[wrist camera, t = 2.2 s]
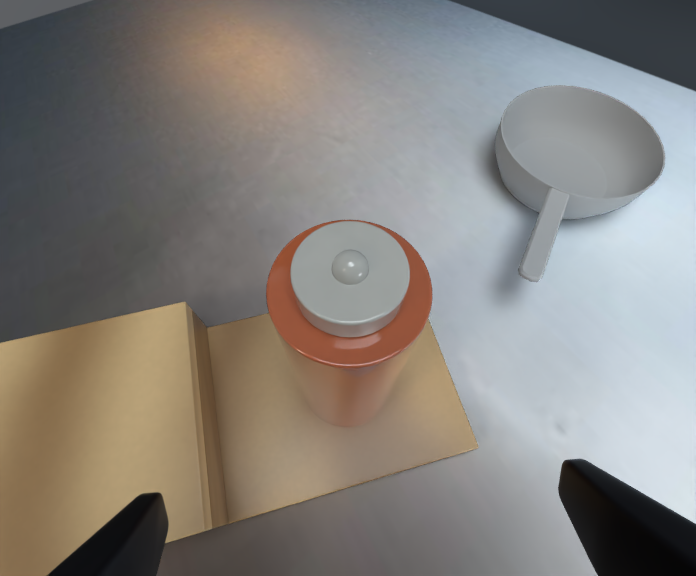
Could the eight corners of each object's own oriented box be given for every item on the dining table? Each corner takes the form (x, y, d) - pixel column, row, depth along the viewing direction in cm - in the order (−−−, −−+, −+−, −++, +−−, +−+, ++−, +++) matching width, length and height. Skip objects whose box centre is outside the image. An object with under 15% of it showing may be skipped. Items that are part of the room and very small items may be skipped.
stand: (410, 286, 25) (423, 247, 21) (473, 449, 20) (505, 440, 16) (3, 383, 22) (-74, 358, 18) (-27, 601, 17) (-138, 635, 13)
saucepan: (641, 154, 30) (679, 112, 27) (590, 346, 23) (633, 322, 20) (509, 108, 33) (528, 64, 29) (424, 270, 25) (436, 236, 22)
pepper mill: (370, 443, 20) (407, 383, 8) (285, 403, 20) (217, 301, 9) (402, 358, 22) (468, 220, 10) (324, 325, 22) (308, 165, 11)
